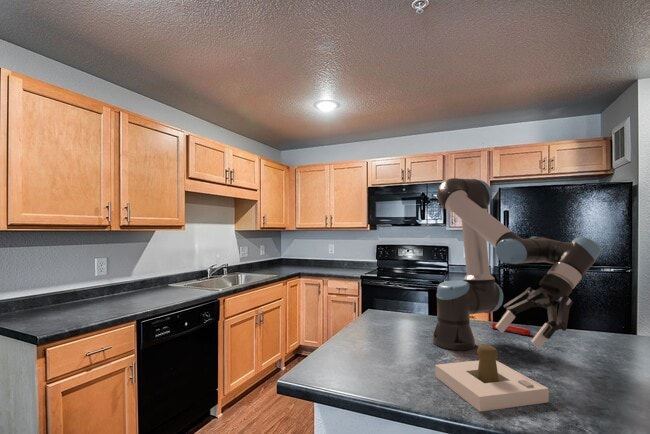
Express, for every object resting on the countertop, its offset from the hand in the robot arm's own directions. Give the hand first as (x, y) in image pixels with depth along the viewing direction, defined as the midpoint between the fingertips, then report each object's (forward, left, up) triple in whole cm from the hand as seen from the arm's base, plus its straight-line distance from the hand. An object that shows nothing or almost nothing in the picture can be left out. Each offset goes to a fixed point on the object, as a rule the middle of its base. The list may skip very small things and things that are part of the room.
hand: (515, 337), depth 97 cm
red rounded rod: (-20, +52, -14) cm, 58 cm away
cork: (-5, -8, -13) cm, 16 cm away
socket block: (-5, -8, -13) cm, 16 cm away
